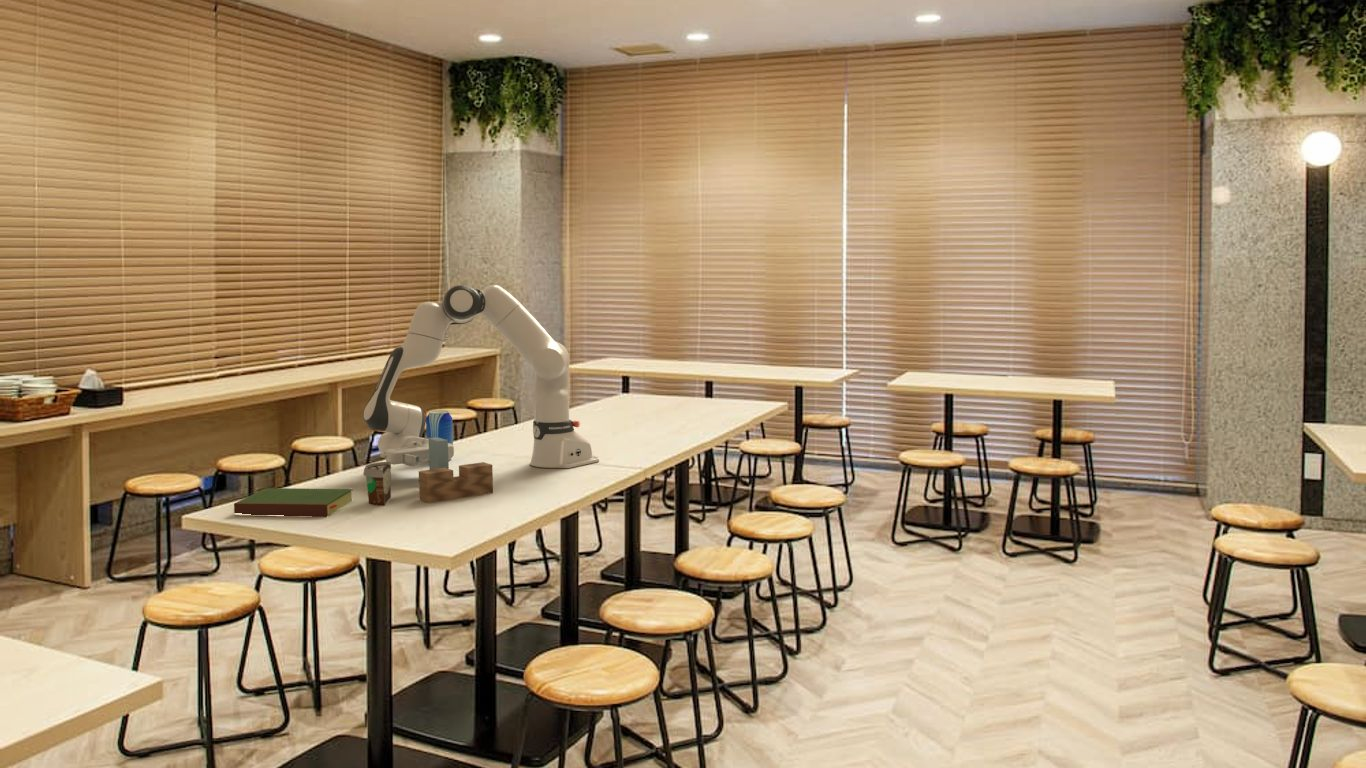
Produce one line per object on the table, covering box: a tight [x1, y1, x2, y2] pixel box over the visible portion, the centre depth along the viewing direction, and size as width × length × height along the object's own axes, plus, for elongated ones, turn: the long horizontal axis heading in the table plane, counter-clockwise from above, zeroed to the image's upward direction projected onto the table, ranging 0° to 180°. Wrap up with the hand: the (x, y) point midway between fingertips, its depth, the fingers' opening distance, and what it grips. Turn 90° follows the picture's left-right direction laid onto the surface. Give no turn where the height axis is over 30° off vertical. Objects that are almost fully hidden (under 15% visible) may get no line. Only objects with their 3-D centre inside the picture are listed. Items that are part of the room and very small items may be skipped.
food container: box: [363, 461, 392, 507], centre depth 292 cm, size 12×6×10 cm, turn 5°
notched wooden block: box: [418, 461, 494, 504], centre depth 299 cm, size 20×5×8 cm, turn 130°
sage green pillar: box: [428, 438, 450, 470], centre depth 311 cm, size 3×6×14 cm, turn 40°
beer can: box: [425, 409, 454, 462], centre depth 352 cm, size 8×8×16 cm
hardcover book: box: [233, 487, 354, 518], centre depth 286 cm, size 25×19×4 cm
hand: (431, 457), depth 314 cm, fingers open, 8 cm apart
